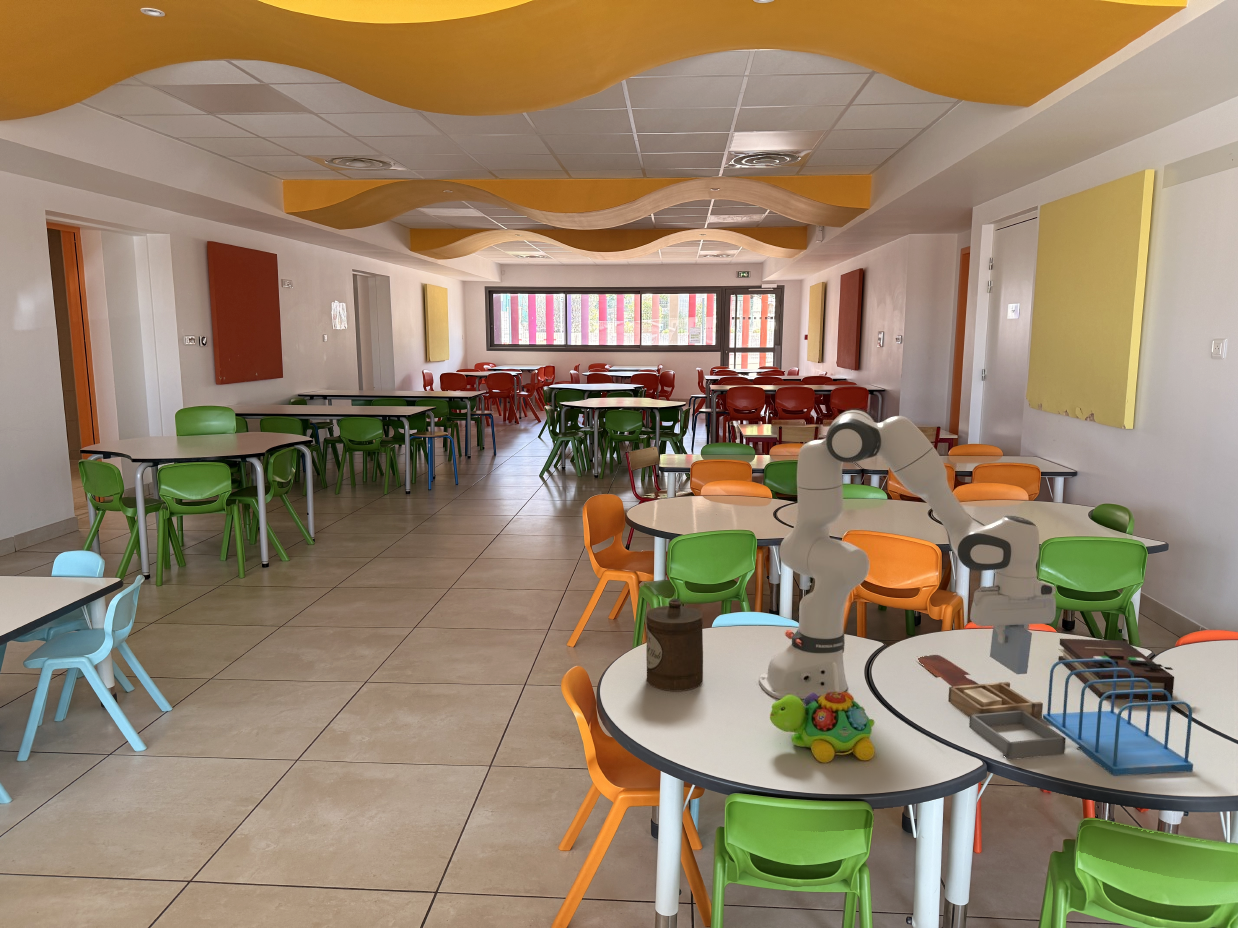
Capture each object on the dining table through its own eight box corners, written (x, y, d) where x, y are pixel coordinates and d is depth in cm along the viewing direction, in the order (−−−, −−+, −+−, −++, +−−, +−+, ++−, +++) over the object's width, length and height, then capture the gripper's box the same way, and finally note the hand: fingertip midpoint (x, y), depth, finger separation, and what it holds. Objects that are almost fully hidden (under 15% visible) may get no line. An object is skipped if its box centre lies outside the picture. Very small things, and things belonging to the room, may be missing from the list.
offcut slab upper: (983, 710, 192) (984, 702, 192) (963, 698, 199) (963, 690, 198) (1001, 707, 193) (1001, 699, 193) (980, 695, 200) (980, 687, 200)
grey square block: (1016, 674, 191) (1021, 633, 190) (989, 656, 201) (994, 617, 199) (1026, 673, 192) (1031, 632, 190) (999, 655, 202) (1003, 617, 200)
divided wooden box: (979, 726, 190) (980, 708, 189) (948, 703, 202) (949, 686, 201) (1041, 720, 193) (1042, 703, 192) (1007, 698, 205) (1008, 681, 204)
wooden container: (646, 668, 225) (646, 590, 222) (701, 669, 224) (701, 591, 221) (646, 691, 210) (646, 608, 207) (704, 692, 210) (705, 608, 207)
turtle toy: (760, 730, 189) (761, 681, 187) (859, 726, 191) (861, 677, 189) (779, 767, 172) (781, 714, 171) (888, 762, 174) (890, 710, 172)
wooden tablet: (995, 695, 208) (996, 689, 208) (958, 697, 207) (958, 691, 207) (942, 656, 234) (943, 650, 234) (909, 658, 233) (909, 652, 233)
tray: (1008, 759, 175) (1009, 743, 174) (969, 729, 188) (969, 714, 188) (1064, 753, 177) (1065, 737, 177) (1021, 724, 191) (1022, 709, 190)
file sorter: (1041, 721, 193) (1046, 658, 191) (1112, 718, 194) (1117, 656, 192) (1113, 776, 168) (1119, 704, 166) (1193, 772, 170) (1200, 701, 167)
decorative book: (1125, 634, 229) (1185, 677, 200) (1123, 660, 230) (1182, 707, 201) (1052, 632, 231) (1100, 674, 202) (1050, 658, 232) (1098, 703, 203)
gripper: (983, 590, 189) (978, 648, 191) (1062, 587, 193) (1057, 644, 194) (966, 583, 195) (962, 639, 197) (1043, 580, 199) (1039, 635, 201)
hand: (1010, 641), depth 196 cm, fingers closed on grey square block, 3 cm apart
